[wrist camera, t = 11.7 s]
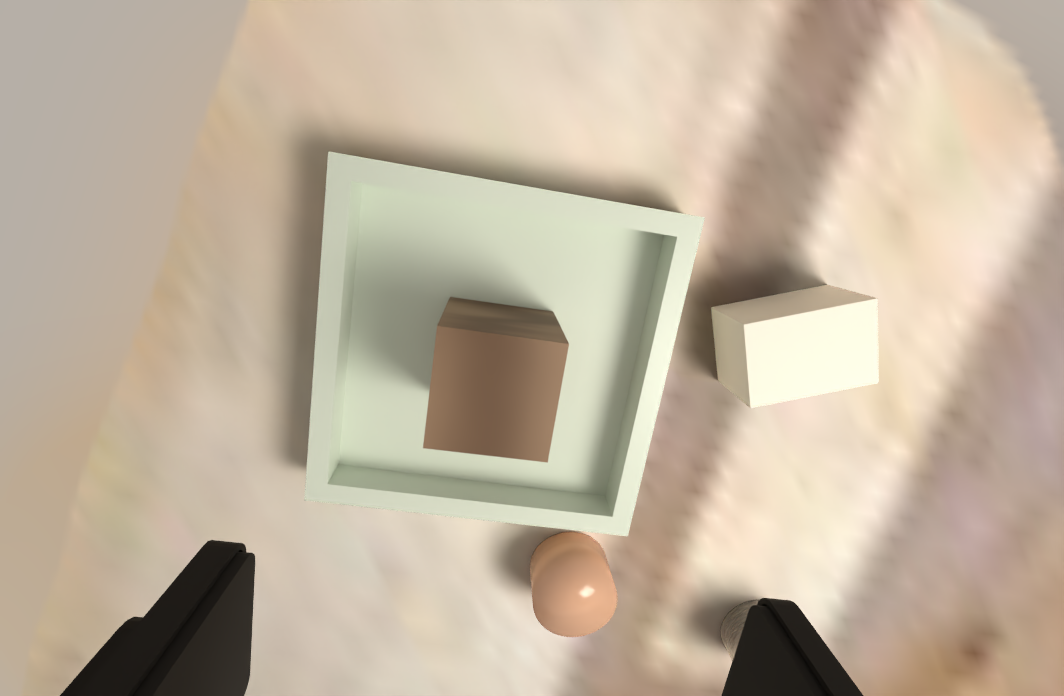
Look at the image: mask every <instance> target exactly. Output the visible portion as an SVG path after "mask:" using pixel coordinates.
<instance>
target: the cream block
mask: <svg viewBox="0 0 1064 696" xmlns="http://www.w3.org/2000/svg"><path fill="white" fill-rule="evenodd" d="M711 313H712V323H713V334H714V344H715V355H716V365H717V376H718V381H719V382H720V383H721V384H722V385H724V386H725V387H726V388H727V389H728V390H729V391H731V392H732V393H733V394H734V395H735V396H737V397H738V398H739V399H740V400H741V401H743V402H744V403H745V404H746V405H747V406H748V407H750V408H754V407H759V406H765V405H770V404H775V403H780V402H785V401H790V400H795V399H800V398H805V397H810V396H815V395H820V394H825V393H830V392H836V391H841V390H846V389H851V388H856V387H861V386H866V385H871V384H876V383H879V374H878V298H874V297H871V296H867V295H863V294H860V293H856V292H852V291H849V290H845V289H841V288H838V287H834V286H830V285H822V286H817V287H812V288H807V289H802V290H797V291H792V292H787V293H782V294H776V295H771V296H766V297H761V298H756V299H751V300H746V301H741V302H736V303H730V304H725V305H720V306H715V307H711Z"/></svg>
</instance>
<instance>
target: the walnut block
mask: <svg viewBox="0 0 1064 696" xmlns="http://www.w3.org/2000/svg"><path fill="white" fill-rule="evenodd" d="M568 347H569V343H568V341H567V339H566V337H565V335H564V332H563V330H562V328H561V326H560V324H559V322H558V320H557V318H556V316H555V314H554V312H553V311H546V310H539V309H532V308H525V307H518V306H511V305H504V304H497V303H490V302H483V301H476V300H469V299H462V298H455V297H450V298H449V300H448V302H447V305H446V307H445V309H444V311H443V314H442V316H441V318H440V320H439V323H438V325H437V331H436V339H435V348H434V357H433V365H432V374H431V382H430V391H429V400H428V408H427V417H426V426H425V434H424V443H423V448H425V449H434V450H443V451H451V452H460V453H469V454H478V455H486V456H495V457H504V458H512V459H521V460H530V461H539V462H547V463H548V458H549V452H550V447H551V441H552V436H553V430H554V425H555V419H556V414H557V408H558V402H559V397H560V391H561V386H562V380H563V375H564V369H565V364H566V358H567V353H568Z"/></svg>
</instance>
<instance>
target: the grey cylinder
mask: <svg viewBox="0 0 1064 696" xmlns="http://www.w3.org/2000/svg"><path fill="white" fill-rule="evenodd" d="M758 601H759V600H753V601H748V602H745V603H742V604H740V605H738V606H736V607H735V608H734V609H732V610H731V611H730V612H729V613H728V614H727V616H726V617H725V618H724V620H723V622H722V625H721V631H720V633H721V639H722V641H723V643H724V645H725V647H726V649H727V651H728V653H729V655H730V657H731V659H732V661H733V658H734V655H735V652H736V649H737V646H738V643H739V640H740V636H741V633H742V630H743V627H744V624H745V621H746V618H747V614H748V611H749V609H750V607H751V606H752V605H757V603H758Z"/></svg>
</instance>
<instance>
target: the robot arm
mask: <svg viewBox="0 0 1064 696" xmlns="http://www.w3.org/2000/svg"><path fill="white" fill-rule="evenodd" d="M254 574H255V555H254V554H253V553H246V547H245V545H244V544H243V543H234V542H224V541H215V540H210V541H208V542H207V543H206V544H205V545H204V546H203V547H202V548H201V549H200V551H199V552H198V553H197V554H196V555H195V557H194V558H193V559H192V560H191V561H190V562H189V564H188V565H187V566H186V567H185V568H184V570H183V571H182V572H181V573H180V574H179V576H178V577H177V578H176V579H175V580H174V582H173V583H172V584H171V585H170V586H169V588H168V589H167V590H166V591H165V592H164V593H163V595H162V596H161V597H160V598H159V599H158V601H157V602H156V603H155V604H154V605H153V607H152V608H151V609H150V610H149V611H148V613H147V614H146V615H145V616H144V617H143V618H142V617H133V618H131V619H129V620H127V621H126V622H125V623H124V624H123V625H122V626H121V627H120V628H119V629H118V630H117V631H116V632H115V633H114V634H113V635H112V637H111V638H110V639H109V640H108V641H107V642H106V643H105V645H104V646H103V647H102V648H101V649H100V650H99V651H98V653H97V654H96V655H95V656H94V657H93V658H92V659H91V661H90V662H89V663H88V664H87V665H86V666H85V667H84V669H83V670H82V671H81V672H80V673H79V674H78V676H77V677H76V678H75V679H74V680H73V681H72V682H71V684H70V685H69V686H68V687H67V688H66V689H65V690H64V692H63V693H62V694H61V695H60V696H244V694H245V692H246V689H247V685H248V681H249V676H250V661H251V639H252V618H253V596H254ZM722 696H863V695H862V693H861V692H860V690H859V689H858V688H857V686H856V685H855V684H854V682H853V681H852V679H851V678H850V677H849V675H848V674H847V673H846V671H845V670H844V669H843V667H842V666H841V664H840V663H839V662H838V660H837V659H836V658H835V656H834V655H833V654H832V652H831V651H830V649H829V648H828V647H827V645H826V644H825V643H824V641H823V640H822V639H821V637H820V636H819V634H818V633H817V632H816V630H815V629H814V628H813V626H812V625H811V623H810V622H809V621H808V619H807V618H806V617H805V615H804V614H803V613H802V611H801V610H800V608H799V607H798V606H797V605H796V604H795V603H794V602H792V601H789V600H779V599H770V598H762V599H760V600H759V601H758V603H757V605H752V606H751V607H750V609H749V611H748V614H747V618H746V621H745V624H744V627H743V630H742V633H741V636H740V640H739V643H738V646H737V649H736V652H735V655H734V658H733V662H732V665H731V668H730V671H729V674H728V677H727V680H726V684H725V687H724V690H723V693H722Z"/></svg>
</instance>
